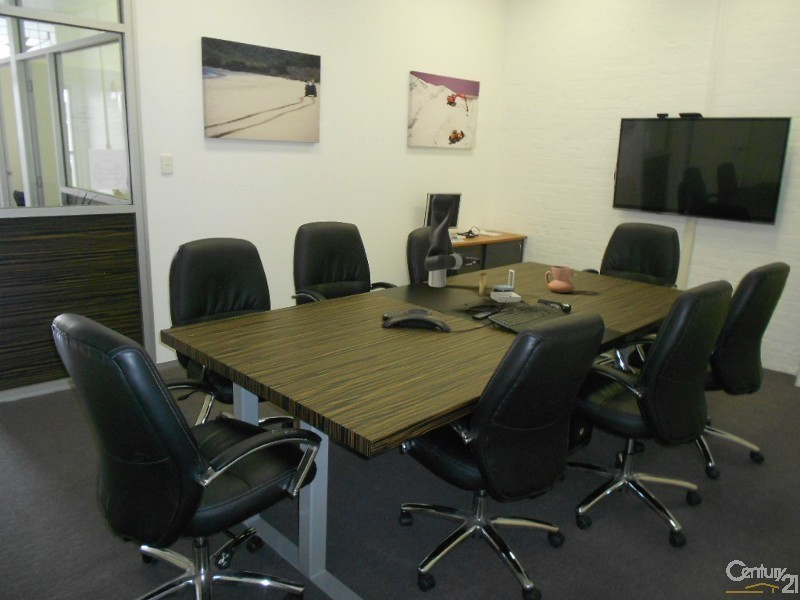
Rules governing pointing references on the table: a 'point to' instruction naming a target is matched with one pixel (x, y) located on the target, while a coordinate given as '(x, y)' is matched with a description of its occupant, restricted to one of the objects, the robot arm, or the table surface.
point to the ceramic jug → (561, 279)
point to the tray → (505, 296)
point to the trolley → (506, 287)
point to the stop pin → (482, 283)
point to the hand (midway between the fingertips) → (473, 259)
